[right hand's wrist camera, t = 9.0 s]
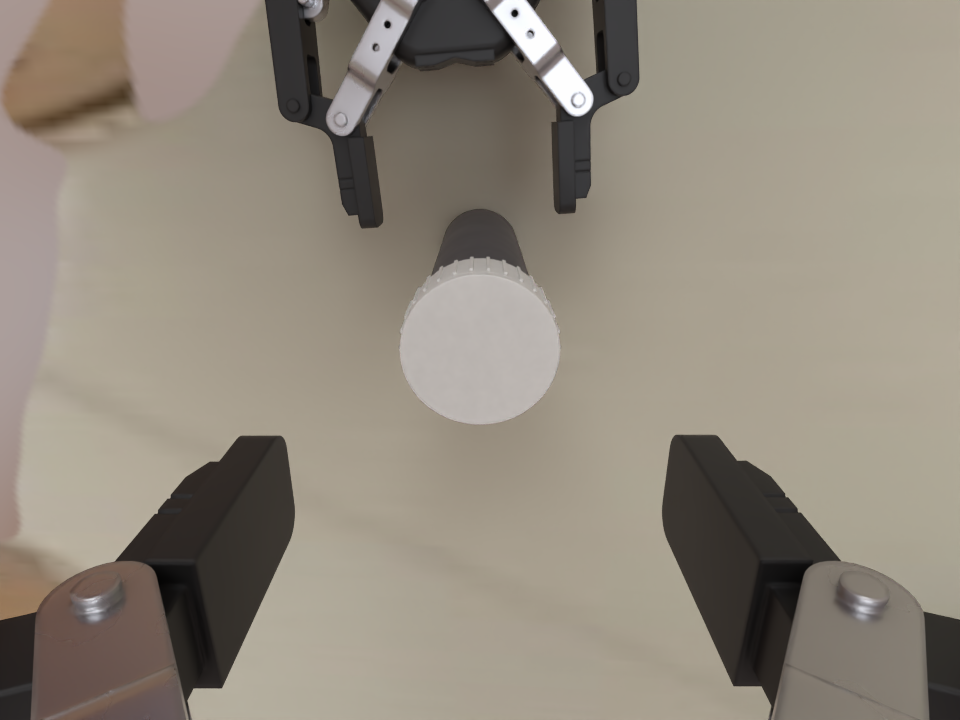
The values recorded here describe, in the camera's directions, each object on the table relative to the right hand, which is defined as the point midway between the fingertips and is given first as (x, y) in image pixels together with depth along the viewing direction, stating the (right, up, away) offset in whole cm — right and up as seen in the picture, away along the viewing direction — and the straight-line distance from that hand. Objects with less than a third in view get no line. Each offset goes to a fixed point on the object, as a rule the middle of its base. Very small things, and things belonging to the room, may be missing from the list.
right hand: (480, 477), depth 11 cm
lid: (0, +3, +7) cm, 7 cm away
